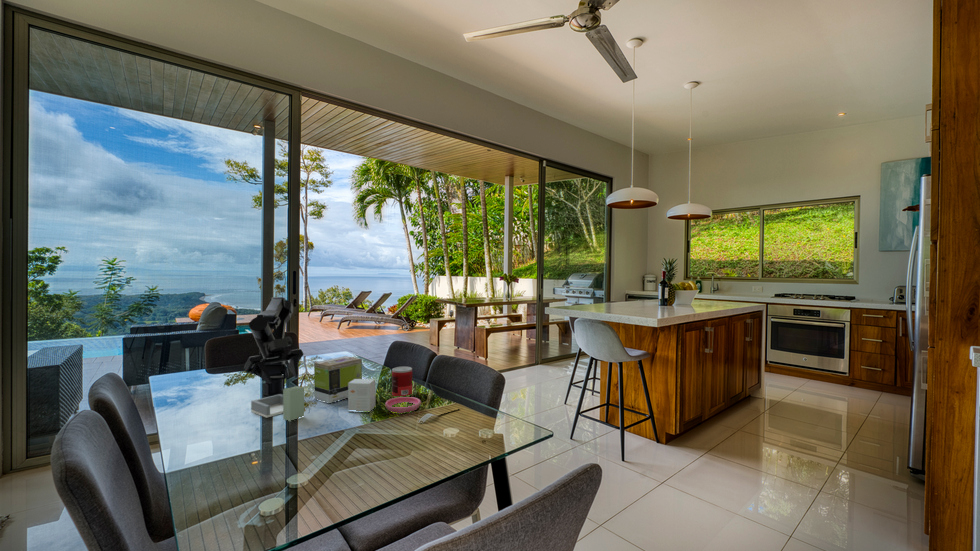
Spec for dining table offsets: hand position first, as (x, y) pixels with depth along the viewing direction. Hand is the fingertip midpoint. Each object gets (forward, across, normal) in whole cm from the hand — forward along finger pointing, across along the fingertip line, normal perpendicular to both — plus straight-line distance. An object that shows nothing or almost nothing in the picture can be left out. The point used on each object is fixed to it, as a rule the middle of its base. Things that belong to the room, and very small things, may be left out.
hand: (284, 379), depth 146 cm
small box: (+21, +19, -4) cm, 29 cm away
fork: (+40, +31, -22) cm, 55 cm away
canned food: (+20, +39, -3) cm, 44 cm away
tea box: (+7, +23, +10) cm, 26 cm away
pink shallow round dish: (+29, +28, -12) cm, 42 cm away
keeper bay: (+4, 0, +13) cm, 14 cm away
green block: (+13, 0, +4) cm, 13 cm away
